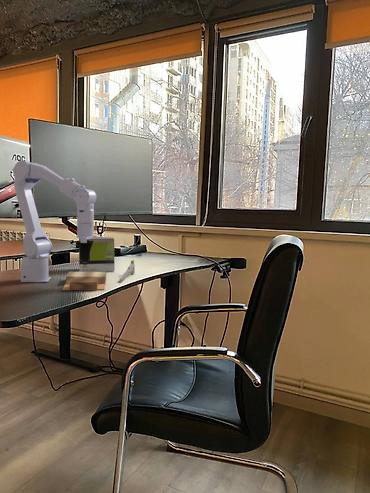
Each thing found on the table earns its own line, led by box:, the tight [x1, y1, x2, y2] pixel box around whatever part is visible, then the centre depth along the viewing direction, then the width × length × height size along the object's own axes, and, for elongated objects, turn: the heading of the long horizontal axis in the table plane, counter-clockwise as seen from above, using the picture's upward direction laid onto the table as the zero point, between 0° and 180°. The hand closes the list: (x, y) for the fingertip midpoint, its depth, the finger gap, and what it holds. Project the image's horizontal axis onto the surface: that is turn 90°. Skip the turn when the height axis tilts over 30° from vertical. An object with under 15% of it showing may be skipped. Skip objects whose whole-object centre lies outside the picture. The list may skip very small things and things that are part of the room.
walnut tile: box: [69, 279, 98, 291], centre depth 137 cm, size 9×6×2 cm, turn 99°
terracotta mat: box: [61, 283, 106, 291], centre depth 139 cm, size 14×9×1 cm, turn 99°
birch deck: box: [65, 271, 107, 285], centre depth 148 cm, size 14×10×3 cm
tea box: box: [78, 236, 115, 272], centre depth 174 cm, size 15×10×15 cm
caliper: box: [118, 259, 136, 284], centre depth 158 cm, size 20×1×6 cm, turn 173°
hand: (85, 260), depth 142 cm, fingers closed
